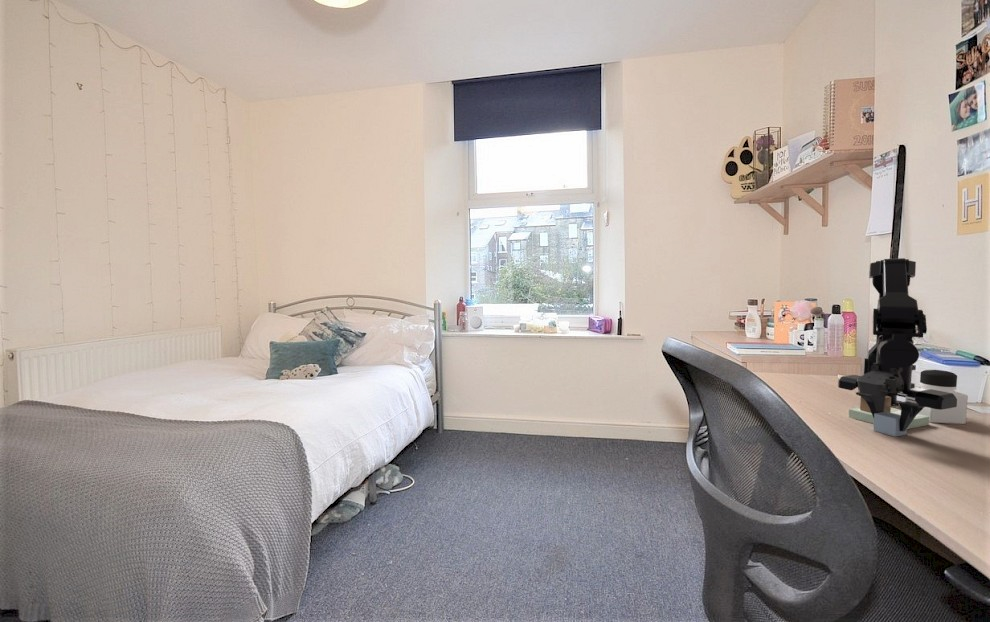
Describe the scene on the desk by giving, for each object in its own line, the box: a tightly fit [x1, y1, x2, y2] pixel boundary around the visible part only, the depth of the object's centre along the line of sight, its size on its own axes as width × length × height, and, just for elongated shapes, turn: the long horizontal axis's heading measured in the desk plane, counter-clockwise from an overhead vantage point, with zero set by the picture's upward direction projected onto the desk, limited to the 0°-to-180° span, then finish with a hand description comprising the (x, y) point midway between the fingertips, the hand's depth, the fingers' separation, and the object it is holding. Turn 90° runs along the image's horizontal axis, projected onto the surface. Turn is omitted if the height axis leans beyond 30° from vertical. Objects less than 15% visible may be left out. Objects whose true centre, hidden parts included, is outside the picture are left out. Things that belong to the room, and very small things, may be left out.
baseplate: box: [848, 407, 930, 430], centre depth 98 cm, size 11×10×2 cm
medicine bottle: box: [911, 369, 969, 425], centre depth 99 cm, size 7×7×12 cm
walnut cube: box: [859, 396, 892, 413], centre depth 99 cm, size 4×4×4 cm
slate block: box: [872, 412, 908, 437], centre depth 91 cm, size 4×4×4 cm
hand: (890, 427), depth 91 cm, fingers closed on slate block, 4 cm apart
